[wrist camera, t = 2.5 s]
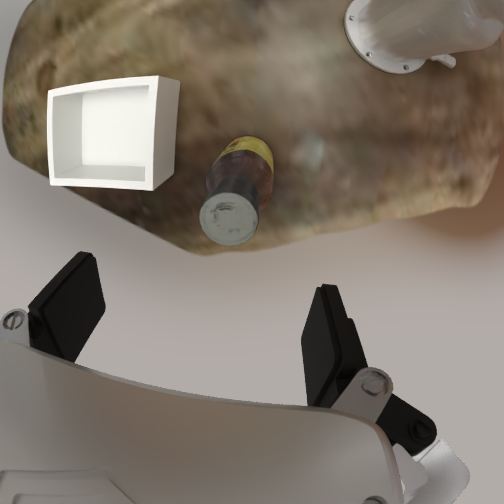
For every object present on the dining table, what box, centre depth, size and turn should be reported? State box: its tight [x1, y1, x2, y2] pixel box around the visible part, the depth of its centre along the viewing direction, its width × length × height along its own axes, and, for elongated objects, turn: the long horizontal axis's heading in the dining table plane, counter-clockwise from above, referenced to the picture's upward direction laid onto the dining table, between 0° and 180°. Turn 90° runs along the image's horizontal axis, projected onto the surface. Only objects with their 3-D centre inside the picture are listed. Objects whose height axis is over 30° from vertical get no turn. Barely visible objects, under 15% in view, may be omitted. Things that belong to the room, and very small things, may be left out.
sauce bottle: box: [199, 136, 274, 246], centre depth 27 cm, size 7×6×20 cm
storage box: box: [47, 76, 180, 191], centre depth 30 cm, size 16×13×8 cm
